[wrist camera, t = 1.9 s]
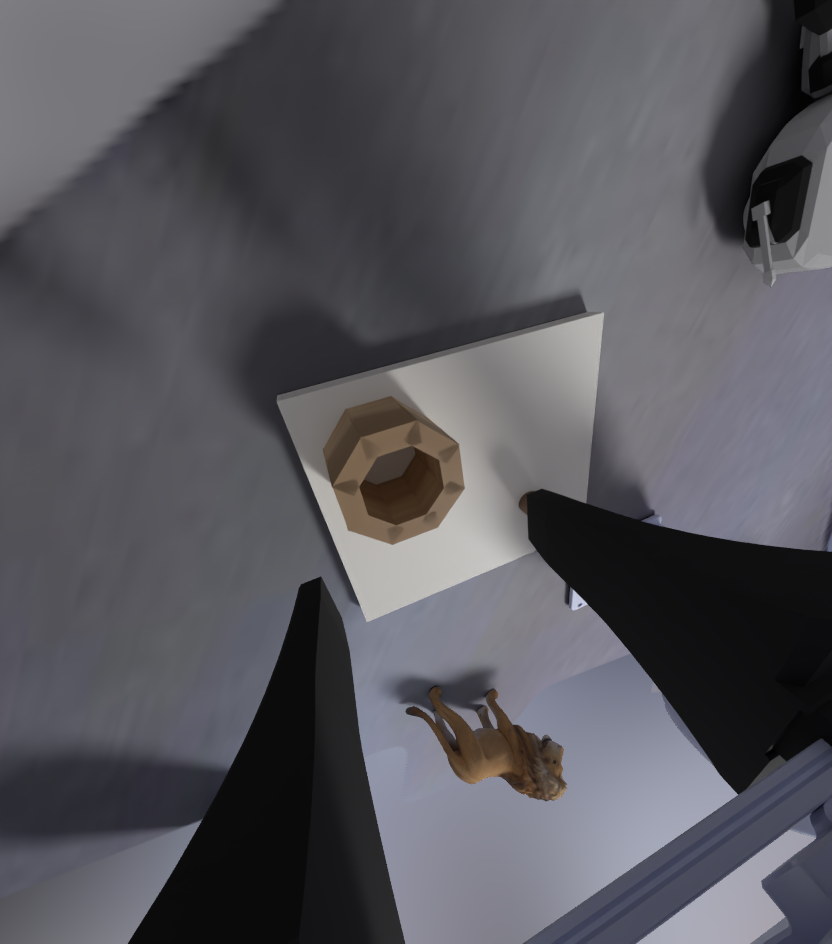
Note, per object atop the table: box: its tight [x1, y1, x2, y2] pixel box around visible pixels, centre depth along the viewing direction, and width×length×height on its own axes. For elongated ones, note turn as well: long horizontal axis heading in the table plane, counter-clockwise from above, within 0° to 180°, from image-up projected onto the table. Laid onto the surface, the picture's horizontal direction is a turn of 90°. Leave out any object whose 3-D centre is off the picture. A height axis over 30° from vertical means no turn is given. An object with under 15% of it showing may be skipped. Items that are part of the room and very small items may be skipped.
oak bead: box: [323, 396, 465, 545], centre depth 16 cm, size 6×6×4 cm
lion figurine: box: [406, 687, 567, 801], centre depth 31 cm, size 15×5×9 cm, turn 65°
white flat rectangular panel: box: [277, 312, 604, 622], centre depth 21 cm, size 18×16×1 cm
